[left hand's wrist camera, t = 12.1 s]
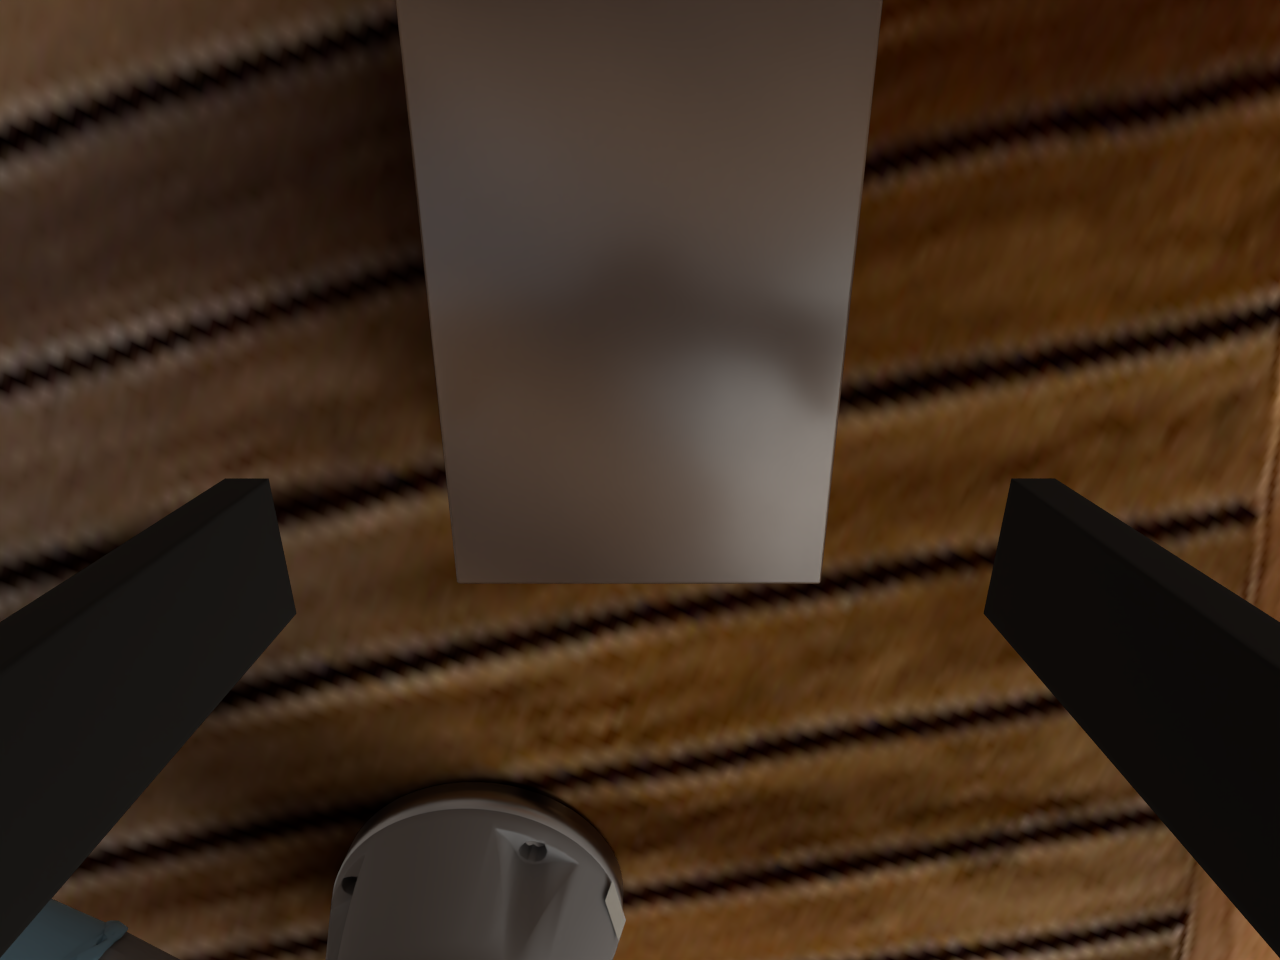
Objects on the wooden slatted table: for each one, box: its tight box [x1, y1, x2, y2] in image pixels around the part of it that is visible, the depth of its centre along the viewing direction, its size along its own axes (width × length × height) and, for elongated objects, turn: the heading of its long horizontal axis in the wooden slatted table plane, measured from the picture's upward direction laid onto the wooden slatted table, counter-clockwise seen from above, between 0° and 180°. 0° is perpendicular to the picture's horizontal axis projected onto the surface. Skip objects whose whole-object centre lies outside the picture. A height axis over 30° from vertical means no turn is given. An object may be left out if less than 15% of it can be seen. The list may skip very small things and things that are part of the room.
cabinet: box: [396, 0, 883, 584], centre depth 22 cm, size 18×11×10 cm, turn 0°
